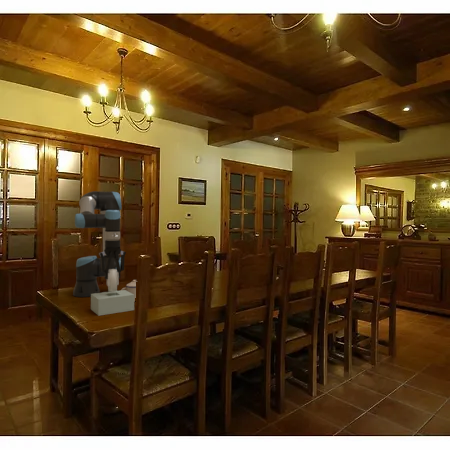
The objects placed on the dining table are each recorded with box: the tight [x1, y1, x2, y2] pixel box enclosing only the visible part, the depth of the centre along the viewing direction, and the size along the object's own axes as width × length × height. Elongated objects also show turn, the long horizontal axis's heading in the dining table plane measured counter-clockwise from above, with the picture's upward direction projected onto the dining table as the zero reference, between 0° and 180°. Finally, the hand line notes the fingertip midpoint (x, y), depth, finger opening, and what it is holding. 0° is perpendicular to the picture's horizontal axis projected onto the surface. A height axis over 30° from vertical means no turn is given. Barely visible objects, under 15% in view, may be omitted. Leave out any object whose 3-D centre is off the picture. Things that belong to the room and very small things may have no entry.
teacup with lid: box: [121, 279, 137, 303], centre depth 197 cm, size 12×9×12 cm
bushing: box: [107, 269, 118, 292], centre depth 176 cm, size 4×4×11 cm
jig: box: [90, 289, 135, 317], centre depth 176 cm, size 14×18×8 cm
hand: (112, 284), depth 176 cm, fingers closed on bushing, 4 cm apart
